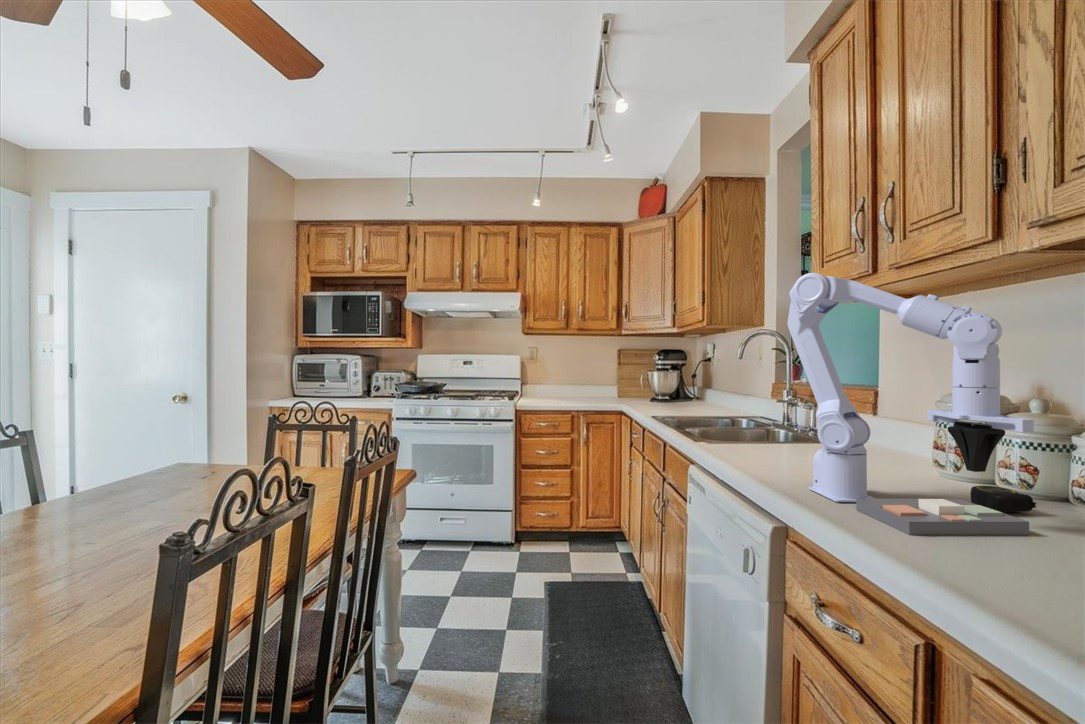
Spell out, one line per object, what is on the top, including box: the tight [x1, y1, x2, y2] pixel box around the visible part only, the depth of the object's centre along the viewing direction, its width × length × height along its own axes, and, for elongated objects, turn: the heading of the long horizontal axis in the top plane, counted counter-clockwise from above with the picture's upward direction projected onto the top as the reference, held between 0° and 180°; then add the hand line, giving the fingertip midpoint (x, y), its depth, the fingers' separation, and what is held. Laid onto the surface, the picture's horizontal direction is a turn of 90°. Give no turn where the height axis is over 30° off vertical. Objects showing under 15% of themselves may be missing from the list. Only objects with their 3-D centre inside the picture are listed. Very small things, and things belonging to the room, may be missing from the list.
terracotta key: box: [882, 505, 926, 516], centre depth 75 cm, size 4×4×2 cm
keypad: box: [855, 498, 1030, 536], centre depth 76 cm, size 12×18×2 cm, turn 89°
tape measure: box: [970, 485, 1037, 514], centre depth 82 cm, size 7×7×4 cm
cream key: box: [918, 498, 965, 516], centre depth 75 cm, size 4×4×2 cm
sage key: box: [962, 505, 1003, 516], centre depth 75 cm, size 4×4×2 cm
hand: (975, 470), depth 75 cm, fingers closed
